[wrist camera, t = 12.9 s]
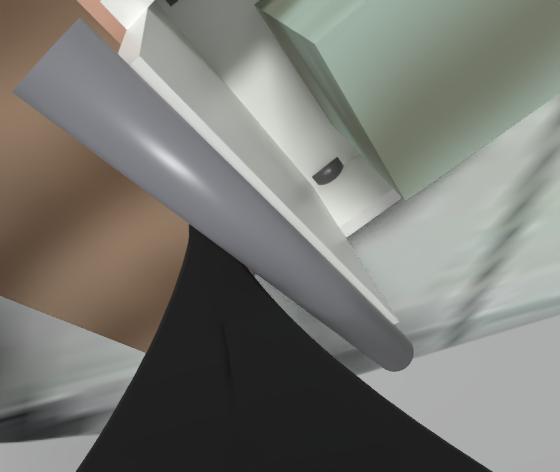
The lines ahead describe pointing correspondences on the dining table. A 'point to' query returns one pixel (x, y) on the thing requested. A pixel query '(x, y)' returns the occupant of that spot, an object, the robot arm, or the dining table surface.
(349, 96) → the block
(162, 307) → the board
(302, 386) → the robot arm
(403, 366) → the white open box
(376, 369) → the dining table surface
